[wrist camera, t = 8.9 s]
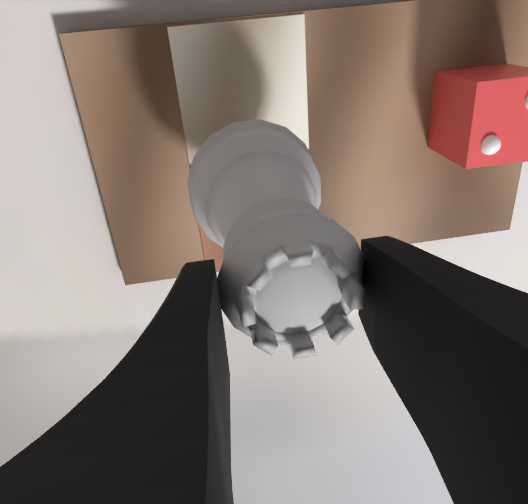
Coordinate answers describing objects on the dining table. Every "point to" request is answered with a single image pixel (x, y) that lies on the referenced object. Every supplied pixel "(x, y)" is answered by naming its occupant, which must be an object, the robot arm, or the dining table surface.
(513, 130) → the red die
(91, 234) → the dining table surface
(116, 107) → the game board
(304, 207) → the rook chess piece
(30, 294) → the dining table surface
